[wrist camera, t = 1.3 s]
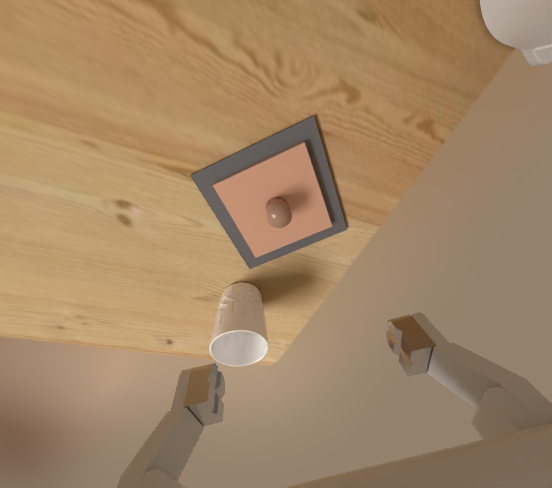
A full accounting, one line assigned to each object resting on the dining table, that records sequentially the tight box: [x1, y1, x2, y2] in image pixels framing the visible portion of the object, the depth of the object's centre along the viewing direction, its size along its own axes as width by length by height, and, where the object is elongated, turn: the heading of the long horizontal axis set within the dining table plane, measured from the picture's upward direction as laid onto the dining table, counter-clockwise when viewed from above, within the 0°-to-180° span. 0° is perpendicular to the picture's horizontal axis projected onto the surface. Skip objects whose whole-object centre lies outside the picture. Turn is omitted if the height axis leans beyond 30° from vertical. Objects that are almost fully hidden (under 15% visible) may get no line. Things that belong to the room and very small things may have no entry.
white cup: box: [210, 282, 269, 366], centre depth 35 cm, size 8×8×10 cm
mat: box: [190, 116, 347, 269], centre depth 31 cm, size 16×16×1 cm
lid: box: [213, 141, 332, 258], centre depth 29 cm, size 12×12×4 cm
